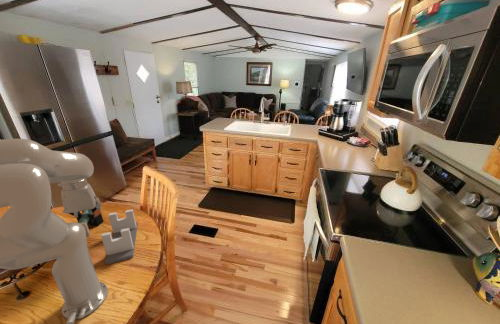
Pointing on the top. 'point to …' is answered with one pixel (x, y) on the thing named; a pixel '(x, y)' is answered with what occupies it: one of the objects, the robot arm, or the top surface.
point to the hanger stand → (120, 237)
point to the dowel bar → (86, 220)
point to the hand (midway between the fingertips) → (87, 221)
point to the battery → (96, 219)
